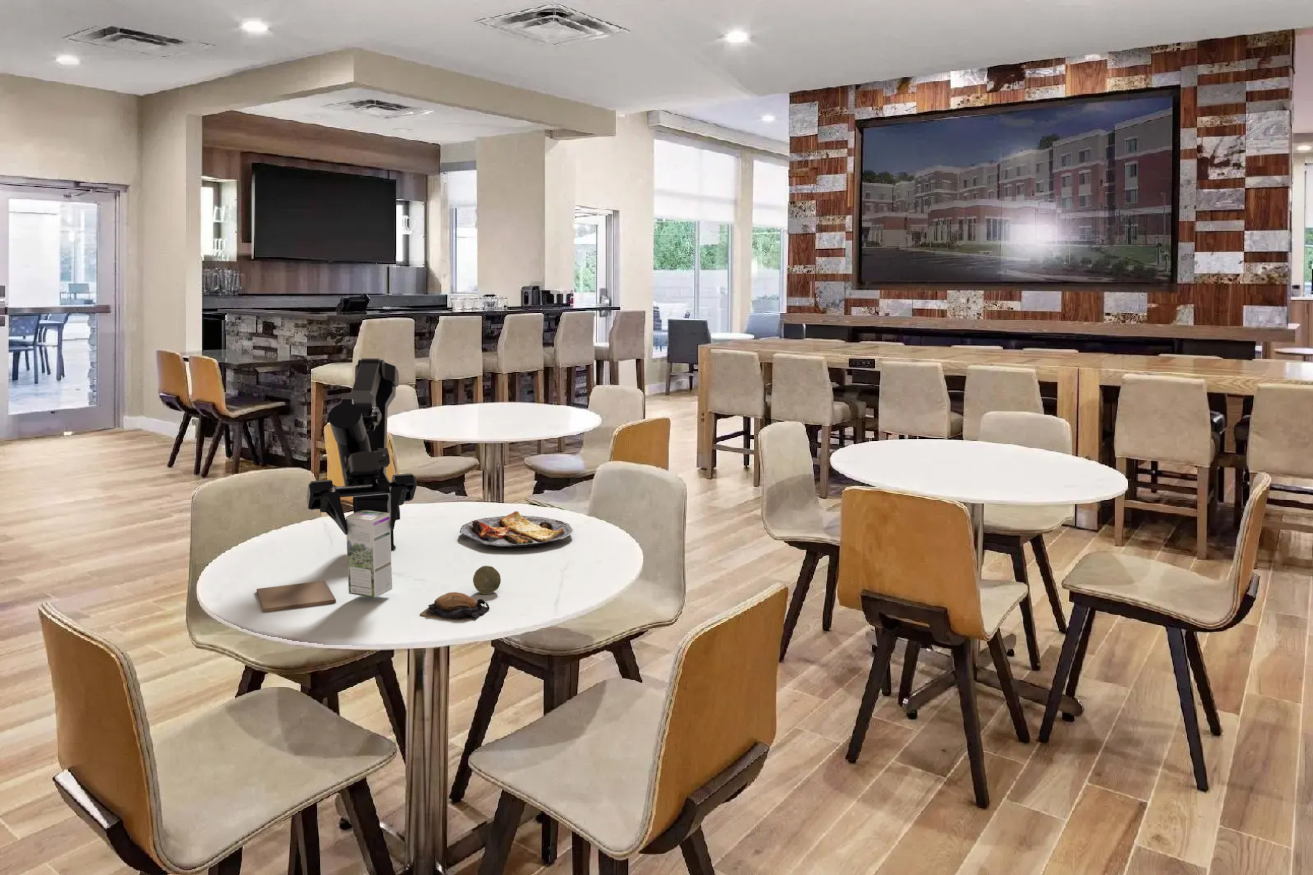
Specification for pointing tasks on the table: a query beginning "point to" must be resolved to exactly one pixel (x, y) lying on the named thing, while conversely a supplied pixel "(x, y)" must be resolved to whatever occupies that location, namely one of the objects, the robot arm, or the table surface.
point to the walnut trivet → (295, 596)
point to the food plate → (516, 530)
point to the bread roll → (456, 607)
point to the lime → (486, 579)
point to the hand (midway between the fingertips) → (370, 531)
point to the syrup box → (369, 553)
